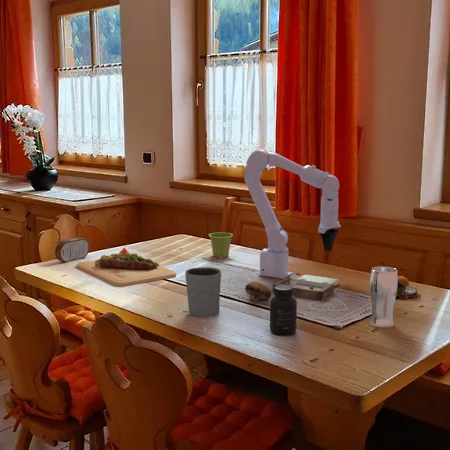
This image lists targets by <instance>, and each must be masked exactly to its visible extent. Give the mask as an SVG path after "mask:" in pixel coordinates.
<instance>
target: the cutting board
mask: <svg viewBox="0 0 450 450" xmlns="http://www.w3.org/2000/svg"><path fill="white" fill-rule="evenodd" d="M76 268H77V269H80V270H81V271H83V272H86V273H88V274H90V275H92V276H93V277H96V278H98V279H100V280H102V281H104V282H106V283H109V284H110V285H112V286H114V287H127V286H134V285H138V284H144V283H150V282H155V281H161V280H166V279H165V278H167V279H171V278H170V277H173V278H176V277H177V271H175V270H172V269H170V268H167V267H164V266H161V265H160V263H158V262H154V261H153V260H152V258H144V257H143V256H141V255H138V253H134V252H133V253H132V252H129V250H128V249H126V247H123V248H122V249H121V250H119V253H111V254H109V255H106V254H103V255H101V256H100V257H99V259H96V260H88V261H81V262H77V264H76ZM175 276H176V277H175Z"/></svg>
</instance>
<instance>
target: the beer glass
mask: <svg viewBox="0 0 450 450" xmlns="http://www.w3.org/2000/svg"><path fill="white" fill-rule="evenodd" d="M397 277H398V269H397V268H394V267H390V266H374V267H372V268H371V272H370V280H369V281H370V282H369V294H370V301H371V316H370V320H369V324H370V325H371V326H372V327H374V328H375V327H376V328H380V329H390V328H393V327H394V325H395V324H394V315H393V313H394V307H395V306H394V305H395V302H396V297H397V296H396V293H397V283H398V279H397Z"/></svg>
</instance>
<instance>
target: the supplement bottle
mask: <svg viewBox="0 0 450 450" xmlns="http://www.w3.org/2000/svg"><path fill="white" fill-rule="evenodd" d="M269 299H270V300H269V332H270V333H271V334H272V335H274V336H277V337H289V336H292V335H295V334H296V332H297V318H298V317H297V316H298V315H297V312H298V310H297V309H298V307H297V305H298V301H297V298H296V296H294V295H293V287H292V285H291V284H290V285H276V286H275V287H274V292H273V296H271V297H270V298H269Z"/></svg>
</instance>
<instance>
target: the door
mask: <svg viewBox="0 0 450 450" xmlns="http://www.w3.org/2000/svg"><path fill="white" fill-rule="evenodd" d="M295 280H296V281H295V283H296V284H298V285H302V286H303V285H304V286H309V287H310V286H312V287H317V288H322V289H323V288H324V287H326V286H328V285H329V284H334V287H335V286H337V285H339V279H338V278H331V277H325V276H319V275H318V276H316V275H313V274H311V275H310V274H303V275H302V276H299V277H297V278H295Z"/></svg>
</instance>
